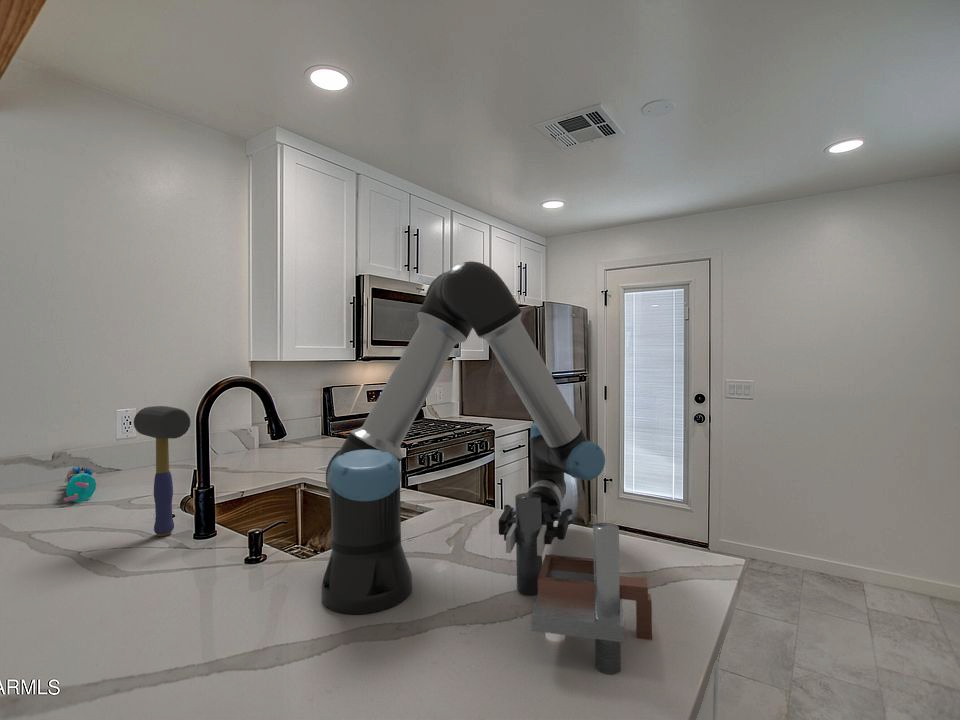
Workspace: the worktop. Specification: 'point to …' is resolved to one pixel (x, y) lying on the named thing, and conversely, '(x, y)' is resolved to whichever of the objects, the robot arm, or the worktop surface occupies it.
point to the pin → (528, 542)
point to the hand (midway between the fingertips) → (523, 545)
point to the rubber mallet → (162, 456)
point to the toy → (79, 485)
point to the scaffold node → (592, 598)
